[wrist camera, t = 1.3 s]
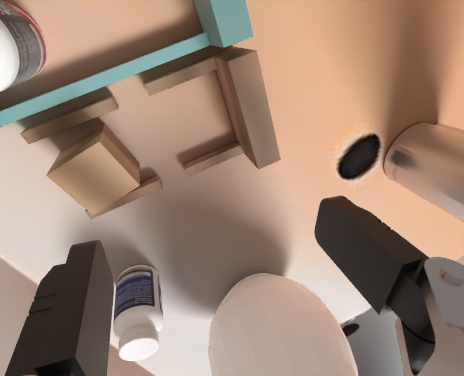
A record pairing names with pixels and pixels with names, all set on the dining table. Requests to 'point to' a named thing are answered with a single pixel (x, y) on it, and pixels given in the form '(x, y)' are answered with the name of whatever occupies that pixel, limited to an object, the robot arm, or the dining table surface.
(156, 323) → the pill bottle
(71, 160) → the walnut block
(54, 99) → the frame
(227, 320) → the white vase
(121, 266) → the dining table surface
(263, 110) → the walnut lane broken
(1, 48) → the pill bottle
